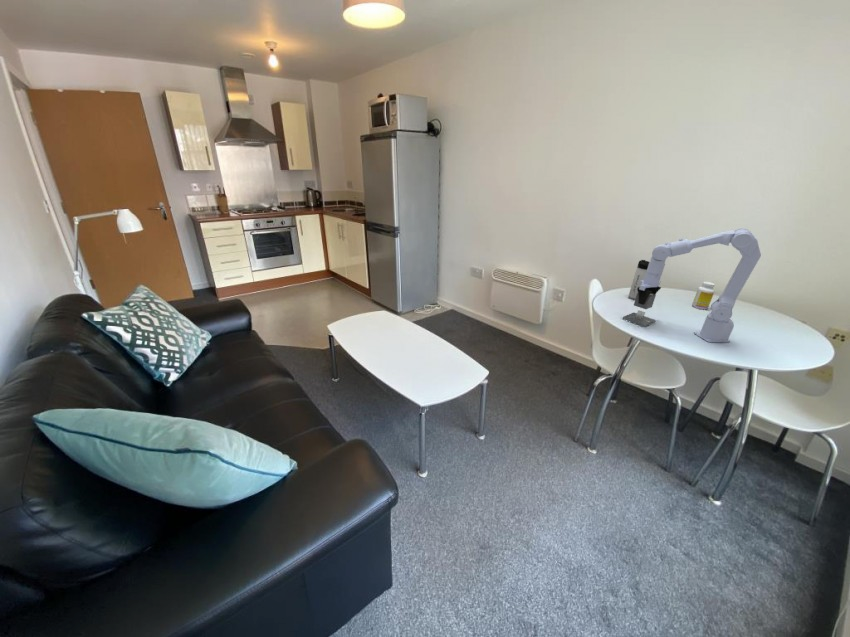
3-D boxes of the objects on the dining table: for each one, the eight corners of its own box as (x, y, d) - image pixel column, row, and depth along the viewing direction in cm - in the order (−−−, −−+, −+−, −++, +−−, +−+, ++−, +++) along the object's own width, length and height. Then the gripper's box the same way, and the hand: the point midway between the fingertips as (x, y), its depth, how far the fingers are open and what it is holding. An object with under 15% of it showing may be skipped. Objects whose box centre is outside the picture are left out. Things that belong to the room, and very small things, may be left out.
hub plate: (633, 314, 166) (635, 305, 164) (655, 322, 159) (658, 313, 157) (622, 318, 161) (624, 309, 159) (644, 327, 154) (647, 318, 152)
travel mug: (637, 296, 189) (649, 260, 180) (643, 301, 183) (655, 263, 174) (625, 295, 189) (636, 259, 181) (631, 300, 183) (642, 262, 175)
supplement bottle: (710, 310, 175) (720, 285, 169) (697, 309, 175) (707, 285, 169) (701, 304, 181) (710, 281, 175) (688, 304, 181) (697, 280, 175)
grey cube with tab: (639, 303, 161) (643, 289, 158) (651, 307, 157) (656, 293, 154) (633, 305, 158) (637, 292, 155) (645, 309, 154) (650, 295, 151)
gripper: (652, 268, 157) (643, 296, 163) (636, 273, 150) (627, 302, 155) (669, 272, 152) (659, 301, 158) (653, 277, 144) (643, 308, 150)
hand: (644, 302), depth 156 cm, fingers closed on grey cube with tab, 5 cm apart
